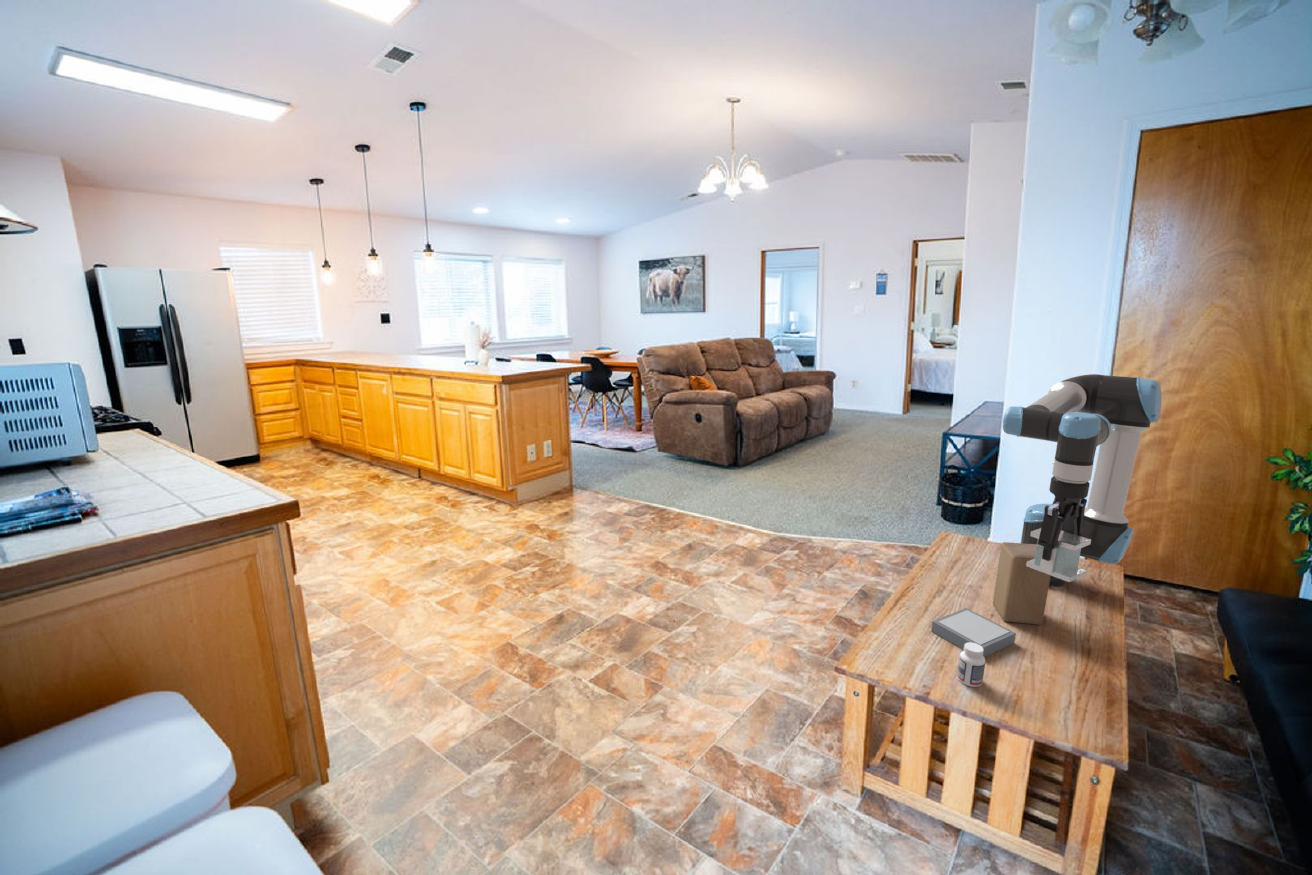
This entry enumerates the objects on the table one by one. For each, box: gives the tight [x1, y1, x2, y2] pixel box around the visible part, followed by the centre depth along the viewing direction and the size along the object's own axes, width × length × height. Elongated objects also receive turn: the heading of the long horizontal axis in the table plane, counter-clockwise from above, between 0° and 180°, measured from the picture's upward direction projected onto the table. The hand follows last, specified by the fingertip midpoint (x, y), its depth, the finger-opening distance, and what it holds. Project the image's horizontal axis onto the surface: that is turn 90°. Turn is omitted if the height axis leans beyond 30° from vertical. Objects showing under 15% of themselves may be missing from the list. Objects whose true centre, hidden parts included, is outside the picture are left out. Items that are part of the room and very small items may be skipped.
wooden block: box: [992, 541, 1051, 625], centre depth 164 cm, size 10×10×20 cm
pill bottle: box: [957, 642, 986, 688], centre depth 138 cm, size 5×5×9 cm
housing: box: [1026, 528, 1091, 583], centre depth 144 cm, size 7×10×9 cm
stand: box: [930, 607, 1017, 658], centre depth 156 cm, size 14×14×3 cm
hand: (1055, 567), depth 145 cm, fingers closed on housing, 7 cm apart
